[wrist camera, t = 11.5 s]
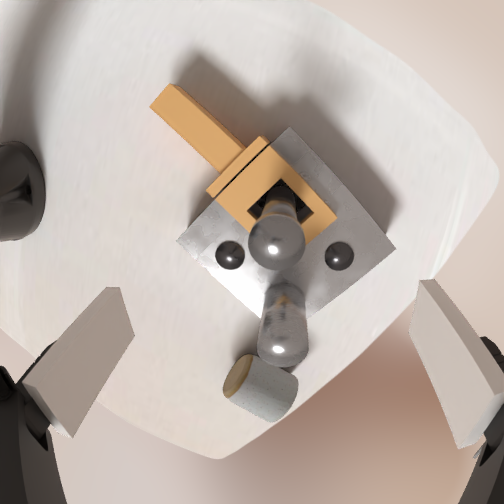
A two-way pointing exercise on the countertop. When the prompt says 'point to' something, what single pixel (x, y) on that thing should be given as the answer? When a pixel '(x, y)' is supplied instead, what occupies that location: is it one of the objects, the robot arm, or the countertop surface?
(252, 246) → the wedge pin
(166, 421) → the countertop surface
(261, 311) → the grey latch block
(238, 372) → the ceramic mug
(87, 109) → the countertop surface
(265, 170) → the bracket
